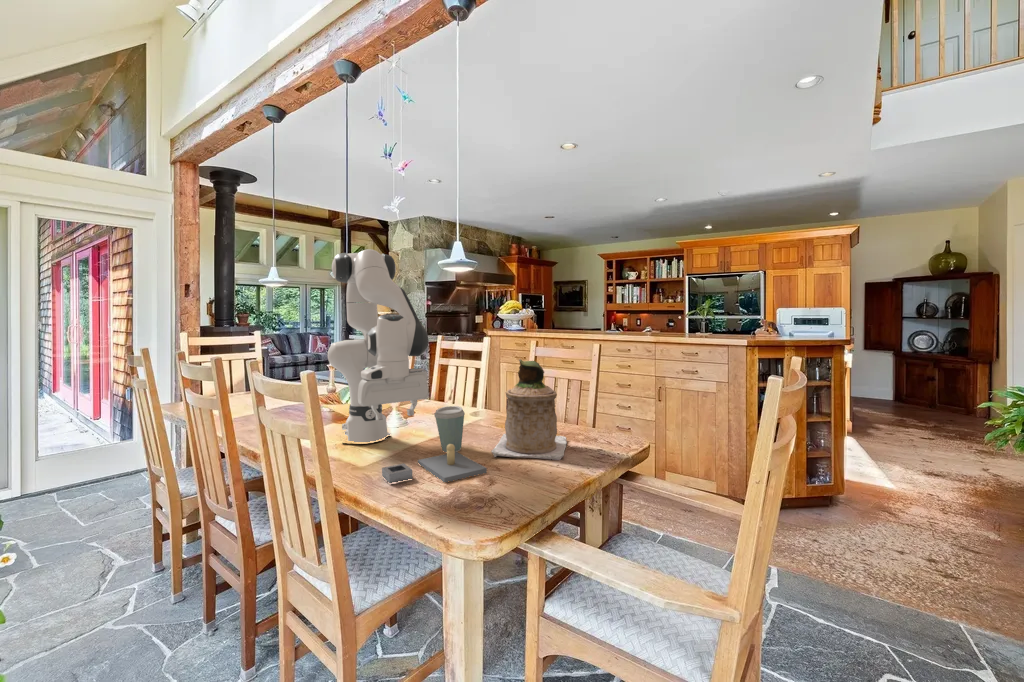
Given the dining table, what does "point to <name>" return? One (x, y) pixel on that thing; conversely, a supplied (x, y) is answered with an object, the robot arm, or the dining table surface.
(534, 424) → the cookie jar
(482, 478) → the dining table surface
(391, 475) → the hollow square frame
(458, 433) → the disposable coffee cup
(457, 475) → the keeper board
